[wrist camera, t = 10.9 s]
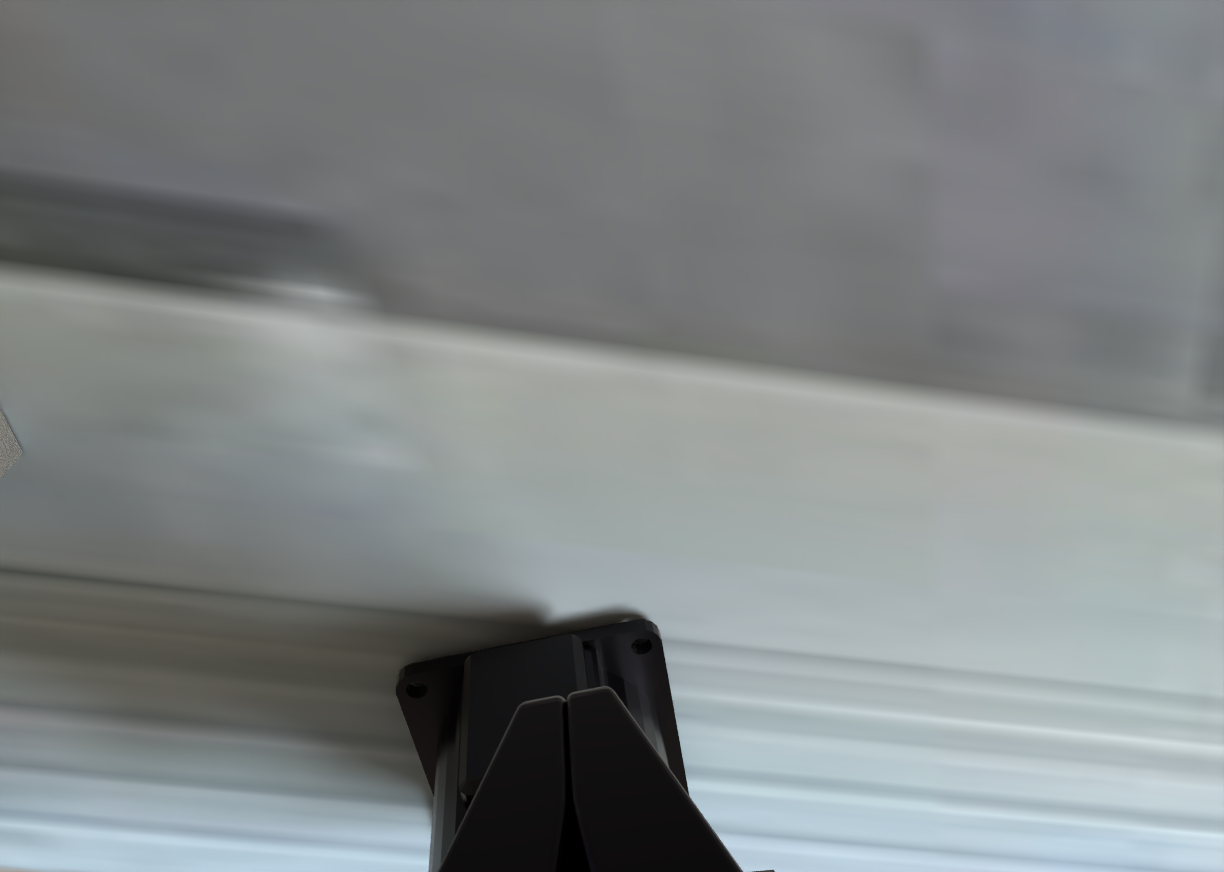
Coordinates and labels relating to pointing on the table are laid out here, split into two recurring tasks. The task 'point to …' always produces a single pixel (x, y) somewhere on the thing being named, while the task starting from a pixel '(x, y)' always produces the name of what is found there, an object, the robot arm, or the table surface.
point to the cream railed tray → (7, 446)
